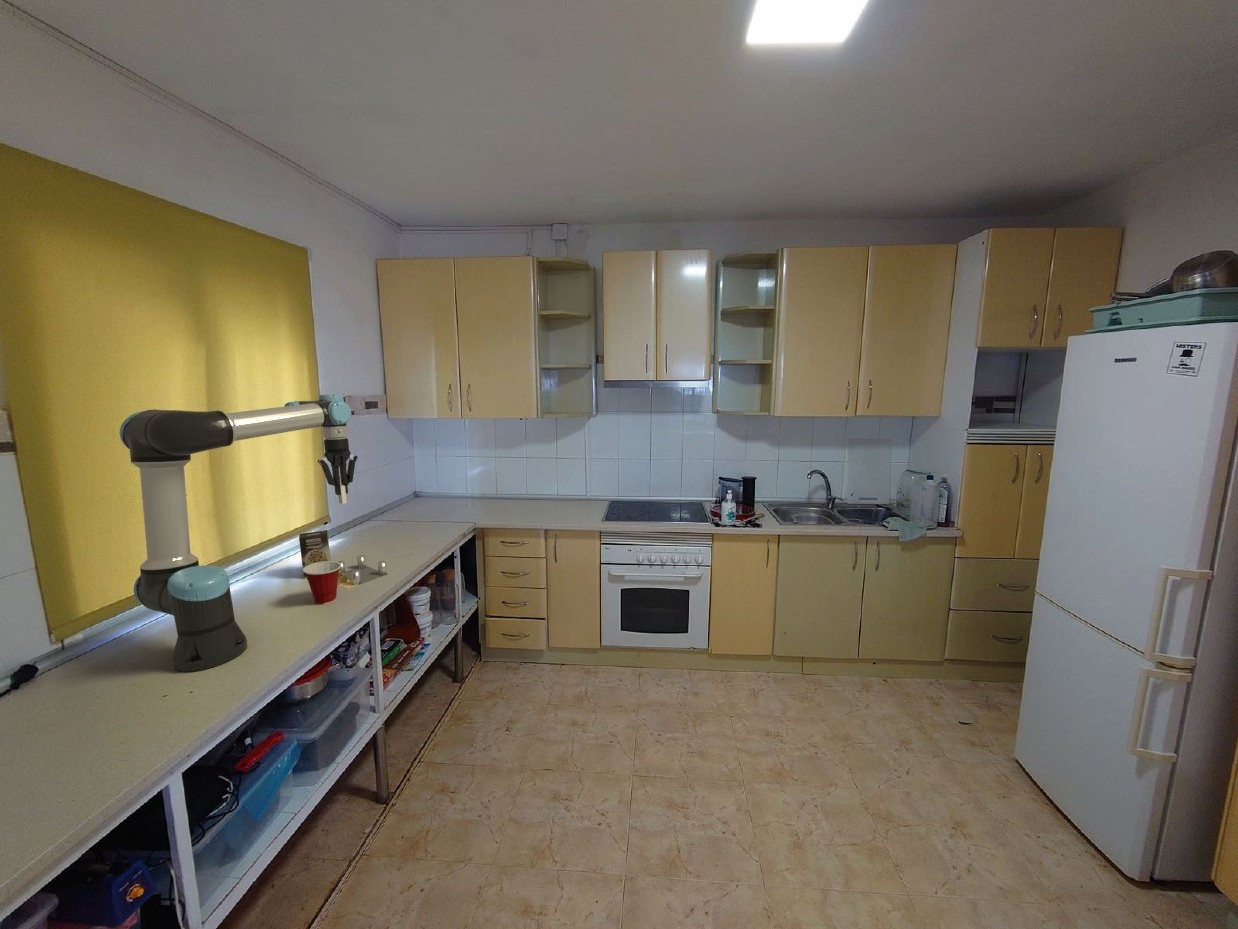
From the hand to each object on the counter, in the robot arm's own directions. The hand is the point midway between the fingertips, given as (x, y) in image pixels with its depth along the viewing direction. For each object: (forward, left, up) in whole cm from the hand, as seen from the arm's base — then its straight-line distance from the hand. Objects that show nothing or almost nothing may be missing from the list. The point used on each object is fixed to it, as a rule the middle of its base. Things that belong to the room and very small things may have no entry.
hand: (342, 503), depth 177 cm
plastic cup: (-15, -14, -28) cm, 35 cm away
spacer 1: (-2, +4, -28) cm, 28 cm away
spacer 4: (+7, -10, -28) cm, 30 cm away
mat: (+1, -3, -28) cm, 28 cm away
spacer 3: (+6, +3, -28) cm, 29 cm away
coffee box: (-6, +12, -28) cm, 31 cm away
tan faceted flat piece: (-6, -3, -27) cm, 28 cm away
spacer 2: (-3, -10, -28) cm, 30 cm away
